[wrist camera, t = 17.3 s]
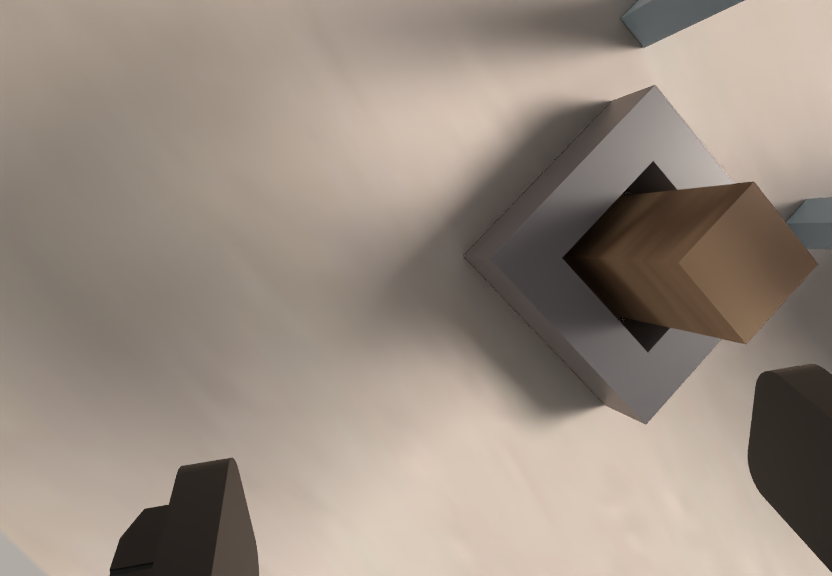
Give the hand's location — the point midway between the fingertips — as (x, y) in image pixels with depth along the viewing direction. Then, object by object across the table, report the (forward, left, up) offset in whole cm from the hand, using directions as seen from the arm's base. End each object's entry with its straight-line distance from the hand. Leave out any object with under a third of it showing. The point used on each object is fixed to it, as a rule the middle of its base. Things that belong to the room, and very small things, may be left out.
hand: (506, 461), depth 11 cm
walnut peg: (+14, +6, -24) cm, 29 cm away
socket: (+14, +6, -24) cm, 29 cm away
